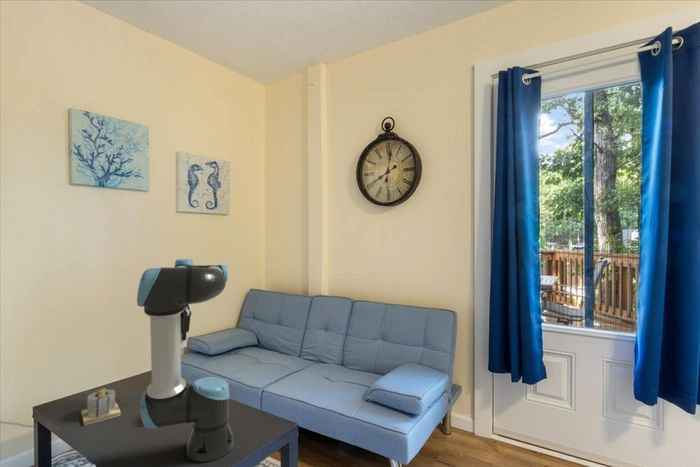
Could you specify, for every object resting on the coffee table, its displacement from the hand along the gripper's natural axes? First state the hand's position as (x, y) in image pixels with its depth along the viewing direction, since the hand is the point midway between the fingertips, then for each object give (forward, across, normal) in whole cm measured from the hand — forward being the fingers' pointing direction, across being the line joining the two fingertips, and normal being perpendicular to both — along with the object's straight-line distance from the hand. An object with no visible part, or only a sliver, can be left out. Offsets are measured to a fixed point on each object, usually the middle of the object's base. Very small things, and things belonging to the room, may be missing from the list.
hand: (182, 346), depth 155 cm
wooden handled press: (+24, +9, +28) cm, 38 cm away
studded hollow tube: (+23, +9, +28) cm, 37 cm away
